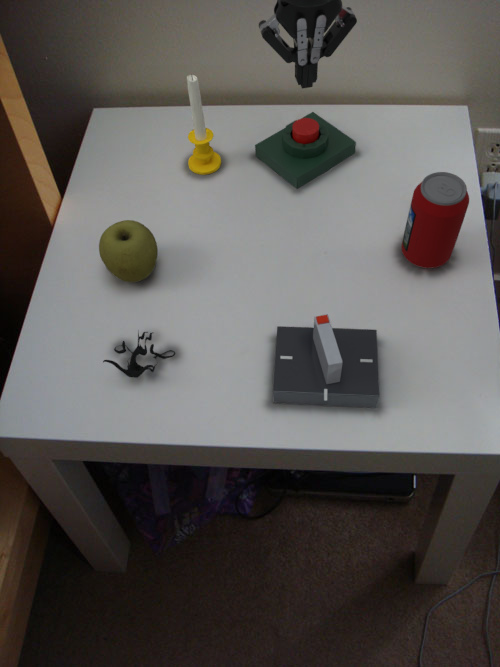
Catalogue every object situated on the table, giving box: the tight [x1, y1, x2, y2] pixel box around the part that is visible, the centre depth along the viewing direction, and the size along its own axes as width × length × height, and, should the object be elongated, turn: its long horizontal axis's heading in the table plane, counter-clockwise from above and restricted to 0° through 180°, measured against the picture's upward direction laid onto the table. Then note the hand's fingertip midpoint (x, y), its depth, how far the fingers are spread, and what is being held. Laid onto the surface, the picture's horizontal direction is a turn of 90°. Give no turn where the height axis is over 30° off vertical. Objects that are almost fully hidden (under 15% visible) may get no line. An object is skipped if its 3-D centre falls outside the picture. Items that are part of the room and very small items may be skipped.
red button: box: [292, 117, 319, 144], centre depth 90 cm, size 4×4×2 cm
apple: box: [98, 219, 159, 283], centre depth 80 cm, size 8×8×7 cm
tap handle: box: [313, 314, 343, 384], centre depth 68 cm, size 6×2×5 cm, turn 11°
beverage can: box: [400, 171, 470, 269], centre depth 77 cm, size 7×7×12 cm
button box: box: [254, 111, 357, 190], centre depth 92 cm, size 12×10×4 cm
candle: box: [186, 73, 222, 176], centre depth 88 cm, size 5×5×16 cm
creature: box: [102, 329, 176, 379], centre depth 73 cm, size 8×5×8 cm
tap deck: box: [272, 325, 380, 409], centre depth 71 cm, size 12×11×3 cm
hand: (305, 84), depth 84 cm, fingers closed
